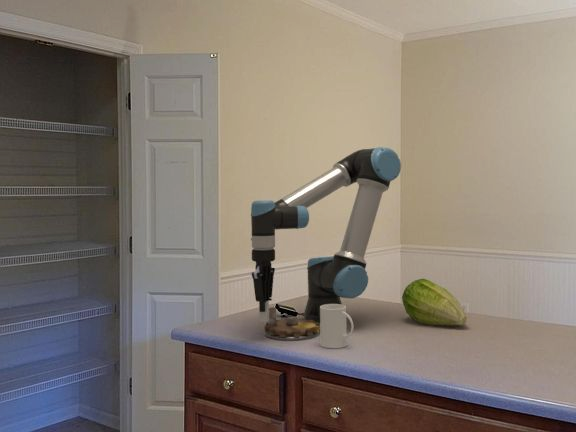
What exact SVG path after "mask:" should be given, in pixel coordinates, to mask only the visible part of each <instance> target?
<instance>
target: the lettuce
mask: <svg viewBox="0 0 576 432" xmlns="http://www.w3.org/2000/svg"><path fill="white" fill-rule="evenodd" d="M401 301H402V304H403V307H404V309H405V312H406V314H407V315H408V316H409V317H410V318H411V319H413V320H414V321H417V322H419V323H421V324H426V325H432V326H434V325H435V326H454V325H455V326H457V325H458V326H463V325H465V323H466V322H467V319H468V318H467V315H466V313H465V311H464V309H463V307H462V306H461V304H460V301H459V300H458V299H457V298H456V297H455V296H454V295H452V294H451V292H450V291H448V290H447V288H445V287H441V285H439V284H436V283H435V282H432V281H431V280H428V279H427V278H420V279H416V280H414V281H412V282H410V283H409V284H408V285H407V286H405V288H404V290H403V293H402V296H401Z"/></svg>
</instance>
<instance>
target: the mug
mask: <svg viewBox="0 0 576 432" xmlns="http://www.w3.org/2000/svg"><path fill="white" fill-rule="evenodd" d="M347 319H348V320H349V322H350V325H351V329H350V332H349V333H348V334H347ZM319 324H320V334H319V336H320V340H319V341H320V342H319V345H320V347H322V348H326V349H342V348H345V347H347V346H348V341H347V340H348V338H349V337H351V336H352V334H353V332H354V321H353V319H352V316H351V315H349V313H347V306H346V305H345V304H342V305H341V304H325V305H322V306H320V323H319Z"/></svg>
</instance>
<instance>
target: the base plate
mask: <svg viewBox="0 0 576 432" xmlns="http://www.w3.org/2000/svg"><path fill="white" fill-rule="evenodd" d="M264 336H265V337H266V338H268V339H271V340H275V341H276V340H277V341H284V342H285V341H287V342H288V341H290V342H293V341H295V342H296V341H297V342H298V341H305V340H311V339H314V338H316V337H318V336H320V329H319V332H318V333H315V332H314V333H313V335H309V336H307V335H303V336H300V337H294V336H286V337H279V335H273V336H272V335H269V332H265V331H264Z"/></svg>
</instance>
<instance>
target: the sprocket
mask: <svg viewBox="0 0 576 432" xmlns="http://www.w3.org/2000/svg"><path fill="white" fill-rule="evenodd" d="M319 329H320V323H318V322H316V323H315V321H314V320H304V318H300V317H299V318H290V317H289V318H288V317H287V318H284V319H277V307H275V306H272V307H269V321H268V322H265V325H264V333H265V332H269V335H272V336H273V335H279V337H286V336H294V337H300V336H303V335H307V336H309V335H313V333H314V332H315V333H318V332H319Z"/></svg>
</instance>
